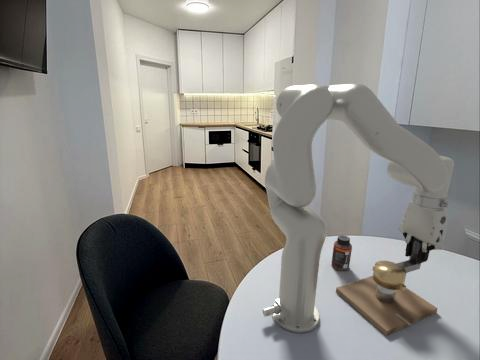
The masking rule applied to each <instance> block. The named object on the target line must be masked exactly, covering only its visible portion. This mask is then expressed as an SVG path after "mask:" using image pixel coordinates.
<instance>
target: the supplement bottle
mask: <svg viewBox="0 0 480 360" xmlns="http://www.w3.org/2000/svg"><path fill="white" fill-rule="evenodd" d="M352 250H353V245H352V244H351V238H350V237H349V236H347V235H345V234H343V235H342V234H341V235H340V234H339V235H338V236H337V240H335V241H334V242H333V248H332V257H331V266H332V267H333V268H334V269H335V270H339V271H347V270H348V269H349V268H350V264H351V256H352Z"/></svg>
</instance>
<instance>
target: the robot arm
mask: <svg viewBox="0 0 480 360" xmlns="http://www.w3.org/2000/svg"><path fill="white" fill-rule="evenodd" d="M275 104H276V105H275V107H276V111H277V114H278V115H279V116H280V119H279V121H278V124H277V126H276V127H275V130H274V132H273V137H272V152H273V161H272V162H271V163H270V164H269V166H268V167H267V169H266V171H265V175H264V185H265V190H266V195H267V201H268V205H269V210H270V215H271V217H272V220H273V222H274V223H275V225H276V226H277V227H278V228H279V230H281V232H282V233H283V234H284V236H285V239H286V240H285V241H286V242H285V245H284V247H283V250H282V252H281V259H280V261H281V262H280V277H279V278H280V280H279V294H278V298H276V299H275V302H274V304H272V305H271V306H270V307H269V306H268V307H266V308H263V309H262V314H263V317H269V316H271V319H272V321H273V322H276V324H278V325H279V326H280V327H281V328H283V329H285V330H287V331H290V332H293V333H307V332H310V331H313V330H314V329H316V327H317V326H318V325H319V323H320V311H319V310H318V308H317V307H316V295H317V286H318V280H319V279H318V277H319V267H320V260H321V259H320V258H321V254H322V250H323V246H324V243H325V241H326V238H327V231H328V230H327V224H326V221H325V220H324V218H323V217H322V216H321V215H320V214H319V213H318V212H317V211H316V210H314V208H313V207H310V204H311V203H312V202H313V201H314V199H315V197H316V195H317V183H316V177H315V168H314V160H313V151H312V148H313V147H312V146H313V141H314V137H315V135H316V133H317V131H318V130H319V129H320V128H321V127H322V125H323V124H324V123H326V121H327V120H334V121H335V120H336V121H340V122H343V123H344V124H345V125H346V126H347V127H348V128H349V129H350V130H351V132H352V133H353V134H354V135H355V137H357V138H358V139H359V141H361V143H362V144H363V145H364V146H365V148H366V149H368V150H369V151H371V152H372V153H374V154H376V155H378V156H380V157H381V158H384V159H386V160H389V162H388V164H387V168H386V171H387V174H388V176H389V177H390V178H391V179H392V180H394V181H396V182H398V183H400V184H403V185H405V186H410V187H412V188H414V190H413V194H412V198H411V200H409V202H408V204H407V206H406V209H405V211H404V215H403V218H402V222H401V224H400V225H399V226H398V227H397V228H398V231H400V233H401V234H402V235H403V238H404V239H405V241H404V242H405V243H406V248H405V254H404V255H405V257H407V258H408V257H409V258H410V253H411V249H412V244H413V240H414V238H418V239H420V240H422V241H423V244H422V250H420V251H419V255H418V259H417V262H418V263H419V264H420V263H421V264H423V263H425V262H427V261H428V259H429V256H430V252H431V251H433V250H436V251H437V250H438V251H439V250H445V248H446V245H445V242H444V241H445V238H446V233H447V226H448V209H449V208H450V206H451V203H450V202H448V201H447V196H448V191H449V188H450V184H451V179H452V175H453V172H454V167H455V161H454V159H452V158H451V157H448V156H444V155H439V153H438V152H437V151H436V150H435V149H434V148H433V147H432V146H430V145H429V144H428V143H426V142H425V141H424V140H422V139H421V138H419V137H418V136H416V135H415V134H413V133H412V132H411V131H409V130H408V129H406V128H404V127H403V126H401V125H400V124H399V123H398V121H397V120H396V119H395V118H394V117H393V115H392V114H391V113H390V112H389V111H388V109H387V108H386V106H384V104H383V103H382V101H381V100H380V99H379V98H378V97H377V95H376V94H375V93H374V92H373V91H372V89H371V88H369V87H368V86H367V85H364V84H362V83H344V84H330V85H329V84H328V85H320V84H301V85H290V86H288V87H286V88H284V89H283V90H282V91H281V92H279V95H278V96H277V99H276V103H275ZM447 208H448V209H447Z"/></svg>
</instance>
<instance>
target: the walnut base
mask: <svg viewBox="0 0 480 360" xmlns="http://www.w3.org/2000/svg"><path fill="white" fill-rule="evenodd" d="M376 288H377V283H376V282H375V281H374V280H373V275H371V276H370V275H369V276H368V277H365V278H361V279H359V280H356V281H353V282H349V283H346V284H343V285H340V286H338V287H336V290H335V293H336V294H338V295H339V296H340V297H341V298H342V299H343V300H344V301H345V302H347V303H348V304H349V305H350V306H352V307H353V308H354V309H355V310H356V311H357V312H358V313H360V315H362V317H364V318H365V319H366V321H368V322H369V323H371V324H372V325H373V326H374V327H375V328H376V329H378V330H379V332H381V333H382V335H384V336H386V337H388V336H389V335H391V334H394V333H395V332H398V331H400V330H401V329H404V328H406V327H409V326H411V325H412V324H415V323H418V322H420V321H421V320H423V319H425V318H428V317H431V316H433V315H434V314H436V313H437V312H438V307H436V306H435V305H434V304H432V303H430V302H429V301H427V300H426V299H425V298H423V297H421V296H420V295H418V294H416V293H415V292H414V291H412V290H410V289H409V288H408V287H406V290H404V291H402V290H396V295H395V299H394V302H393V303H391V304H387V303H383V302H381V301H379V300H378V299H377V298H376V296H375V293H376Z"/></svg>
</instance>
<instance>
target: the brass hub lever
mask: <svg viewBox="0 0 480 360" xmlns="http://www.w3.org/2000/svg"><path fill="white" fill-rule="evenodd" d="M422 244H423V241H422V240H420V239H418V238H414V240H413V244H412V249H411V253H410V256H409V259H408V260H404V261H401V262H397V263H396V262H393V261H389V260H378V261H376V262H375V263H374V266H372V271H373V273H372V276H373V280H374V281H375V282H376V283H377V284H378V285H380V286H382V287H384V288H387V289H391V290H402V291H404V290H406V288H407V285H406V284H405V282H406V278H407V274H408V273H411V272H414V271H417V270H420V269H421V266H422V263H420V264H419V263H418V262H417V259H418V255H419V251H420V250H422Z"/></svg>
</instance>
